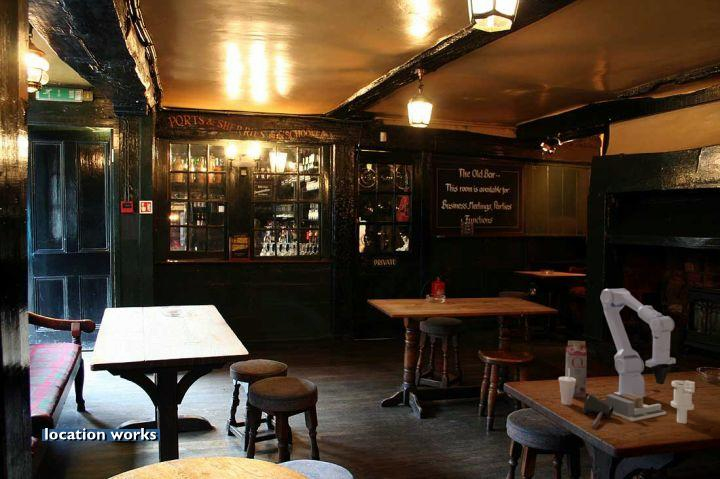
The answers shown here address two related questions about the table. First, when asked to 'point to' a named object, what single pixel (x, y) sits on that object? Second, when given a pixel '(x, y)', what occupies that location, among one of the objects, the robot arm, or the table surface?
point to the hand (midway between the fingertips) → (660, 383)
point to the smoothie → (567, 388)
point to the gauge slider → (634, 399)
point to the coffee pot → (597, 409)
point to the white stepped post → (683, 399)
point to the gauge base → (632, 408)
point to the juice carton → (577, 366)
